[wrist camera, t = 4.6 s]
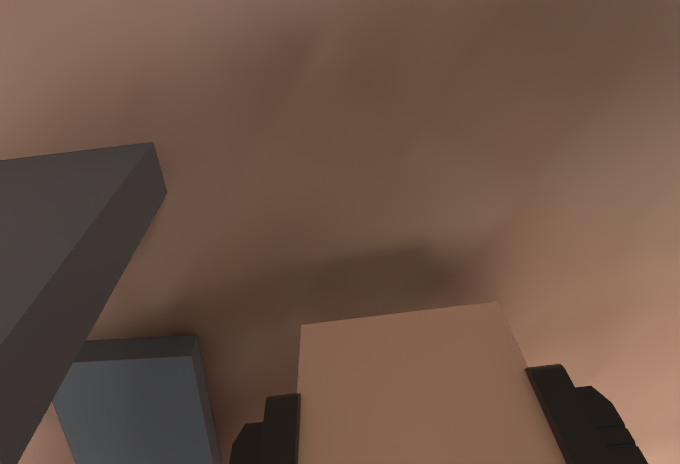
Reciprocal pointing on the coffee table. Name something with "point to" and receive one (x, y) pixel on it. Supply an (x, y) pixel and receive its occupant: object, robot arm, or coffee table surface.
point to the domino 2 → (138, 403)
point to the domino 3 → (419, 391)
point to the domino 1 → (62, 266)
